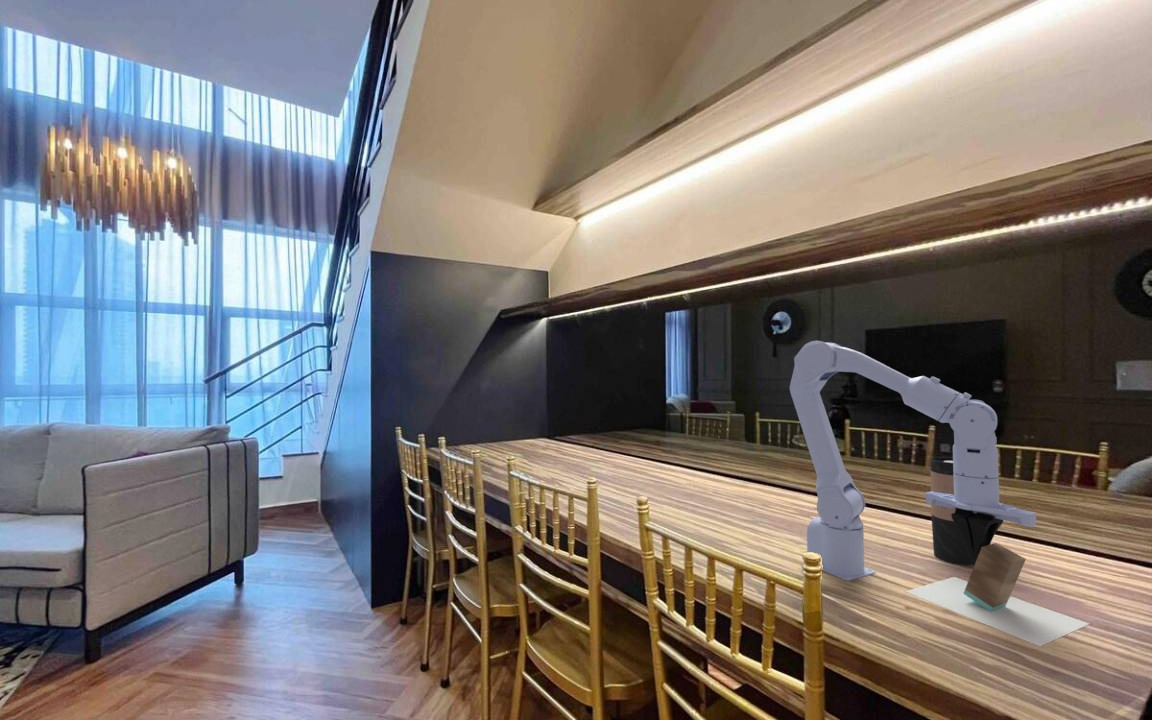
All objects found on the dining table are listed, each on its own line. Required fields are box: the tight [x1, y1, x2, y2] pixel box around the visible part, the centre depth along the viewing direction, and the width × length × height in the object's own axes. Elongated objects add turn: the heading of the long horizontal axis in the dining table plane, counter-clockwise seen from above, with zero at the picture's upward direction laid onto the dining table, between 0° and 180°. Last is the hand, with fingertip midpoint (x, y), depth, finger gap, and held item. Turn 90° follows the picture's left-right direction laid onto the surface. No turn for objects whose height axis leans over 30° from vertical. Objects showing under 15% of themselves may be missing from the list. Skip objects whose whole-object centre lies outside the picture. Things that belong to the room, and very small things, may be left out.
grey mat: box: [904, 576, 1090, 647], centre depth 77 cm, size 18×14×1 cm
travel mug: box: [930, 456, 977, 566], centre depth 97 cm, size 8×8×20 cm
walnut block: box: [963, 542, 1027, 612], centre depth 77 cm, size 4×4×9 cm
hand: (978, 558), depth 79 cm, fingers closed
